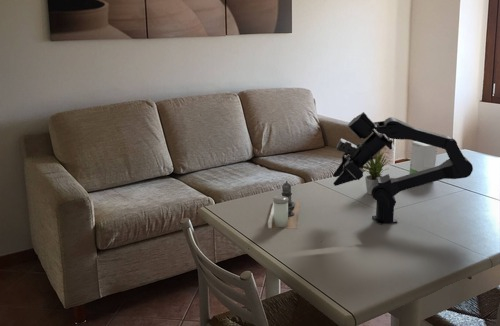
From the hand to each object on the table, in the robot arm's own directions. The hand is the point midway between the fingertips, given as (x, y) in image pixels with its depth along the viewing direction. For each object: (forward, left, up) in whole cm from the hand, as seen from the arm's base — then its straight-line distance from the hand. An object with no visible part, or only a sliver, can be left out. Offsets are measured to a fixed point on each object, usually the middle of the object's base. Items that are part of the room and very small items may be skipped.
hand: (334, 180), depth 180 cm
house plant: (+23, -24, -14) cm, 36 cm away
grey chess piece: (+5, +15, -13) cm, 20 cm away
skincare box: (+33, -49, -14) cm, 61 cm away
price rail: (+6, +19, -14) cm, 24 cm away
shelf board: (+5, +15, -14) cm, 21 cm away
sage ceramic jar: (-4, +19, -12) cm, 23 cm away
